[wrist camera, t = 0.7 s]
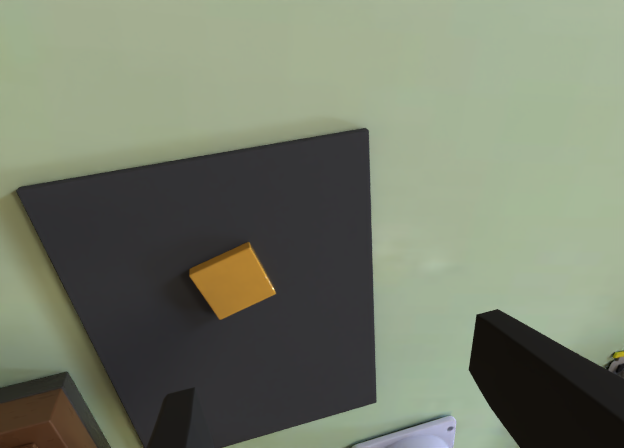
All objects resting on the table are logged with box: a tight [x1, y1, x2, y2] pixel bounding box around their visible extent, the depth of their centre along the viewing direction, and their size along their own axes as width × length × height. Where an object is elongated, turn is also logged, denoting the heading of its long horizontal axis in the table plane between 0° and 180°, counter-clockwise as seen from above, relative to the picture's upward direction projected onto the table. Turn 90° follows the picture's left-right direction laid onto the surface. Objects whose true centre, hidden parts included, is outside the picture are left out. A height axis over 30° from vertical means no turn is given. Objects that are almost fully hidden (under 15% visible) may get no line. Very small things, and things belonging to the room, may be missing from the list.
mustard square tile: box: [189, 242, 276, 320], centre depth 19 cm, size 3×3×1 cm
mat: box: [16, 128, 376, 448], centre depth 21 cm, size 18×14×1 cm
